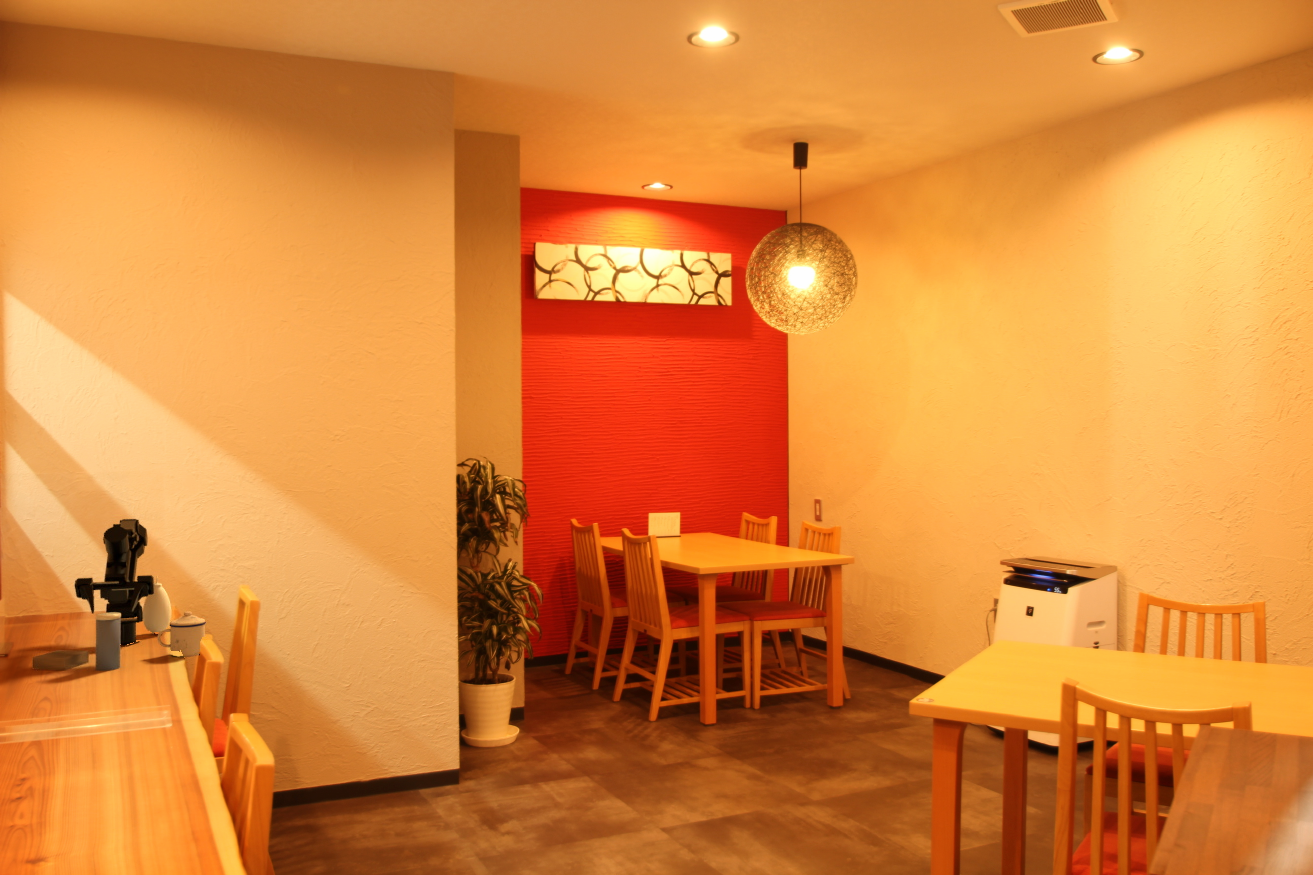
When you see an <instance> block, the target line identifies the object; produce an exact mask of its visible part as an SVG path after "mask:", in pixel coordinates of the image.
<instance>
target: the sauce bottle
mask: <svg viewBox="0 0 1313 875" xmlns="http://www.w3.org/2000/svg"><path fill="white" fill-rule="evenodd" d="M170 601H171V600H170V597H169V594H168V593H167V591H166V590H165V588H164V587H163V584H162V583H161V582H159V576H158V574H157V575H156V583H154V594H152V595H148V596H147V597H145V600H144V603H143V606H142V611H143V621H142V622H143V625H144V628H145V629H146V630H147V631H149V633H150V632H152V633H151V634H154V632H160V631H162V630H164V629H166V628H167V629H168V627H169V626H170V622H171V621H172V604H171V602H170Z"/></svg>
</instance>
